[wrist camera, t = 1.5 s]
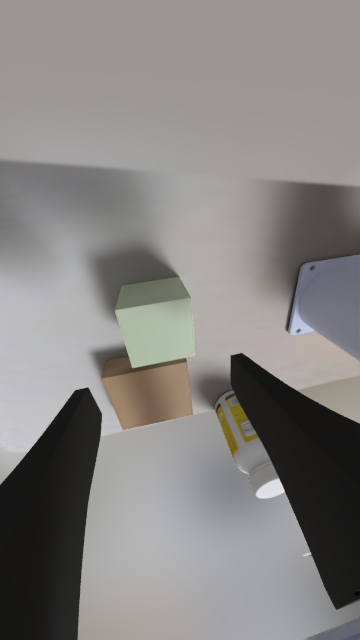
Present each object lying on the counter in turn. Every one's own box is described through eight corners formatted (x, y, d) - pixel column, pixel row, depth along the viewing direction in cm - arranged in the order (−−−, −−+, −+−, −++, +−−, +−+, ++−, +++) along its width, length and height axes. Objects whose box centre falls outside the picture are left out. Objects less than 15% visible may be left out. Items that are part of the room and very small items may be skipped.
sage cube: (178, 276, 17) (190, 297, 13) (184, 324, 20) (195, 355, 16) (121, 285, 17) (114, 310, 13) (134, 333, 19) (132, 368, 15)
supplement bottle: (230, 419, 29) (267, 505, 20) (206, 406, 26) (235, 498, 18) (259, 397, 27) (311, 480, 19) (236, 381, 25) (284, 468, 17)
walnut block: (181, 343, 21) (187, 362, 19) (187, 393, 25) (192, 414, 23) (106, 357, 21) (101, 378, 18) (125, 406, 25) (122, 429, 22)
